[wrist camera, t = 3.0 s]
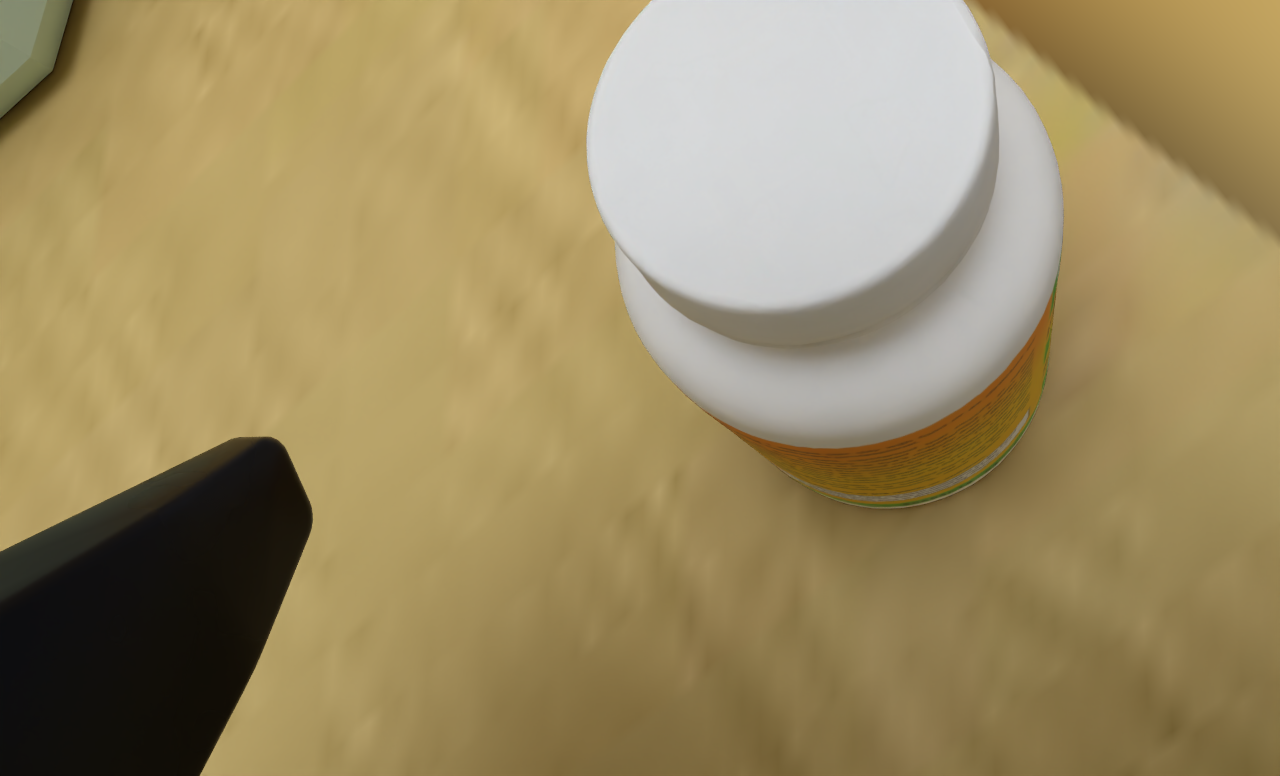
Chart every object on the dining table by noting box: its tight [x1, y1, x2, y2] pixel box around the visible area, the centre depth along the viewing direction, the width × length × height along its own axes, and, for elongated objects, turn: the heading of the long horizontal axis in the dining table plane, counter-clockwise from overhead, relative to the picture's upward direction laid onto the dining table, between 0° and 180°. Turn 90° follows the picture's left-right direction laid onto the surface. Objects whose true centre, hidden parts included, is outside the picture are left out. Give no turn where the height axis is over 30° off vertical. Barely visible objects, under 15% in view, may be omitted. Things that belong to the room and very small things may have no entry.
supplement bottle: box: [586, 0, 1064, 509], centre depth 15 cm, size 5×5×10 cm
